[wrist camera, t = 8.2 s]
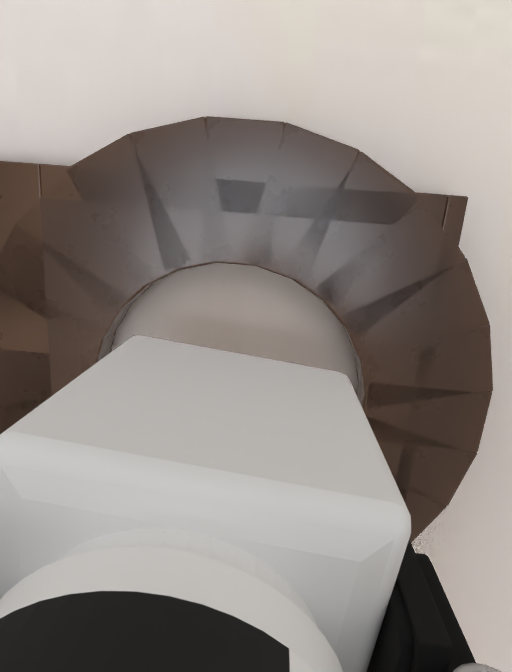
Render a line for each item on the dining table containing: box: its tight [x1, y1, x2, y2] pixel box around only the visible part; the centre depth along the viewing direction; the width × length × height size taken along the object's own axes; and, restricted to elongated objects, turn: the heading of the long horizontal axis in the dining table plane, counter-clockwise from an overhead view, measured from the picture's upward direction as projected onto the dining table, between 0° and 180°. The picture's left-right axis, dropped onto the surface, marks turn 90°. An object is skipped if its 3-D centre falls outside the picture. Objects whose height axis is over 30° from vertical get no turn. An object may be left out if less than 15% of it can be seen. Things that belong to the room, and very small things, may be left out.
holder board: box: [0, 116, 493, 542], centre depth 18 cm, size 26×21×2 cm
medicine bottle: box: [0, 335, 411, 672], centre depth 9 cm, size 7×7×12 cm
